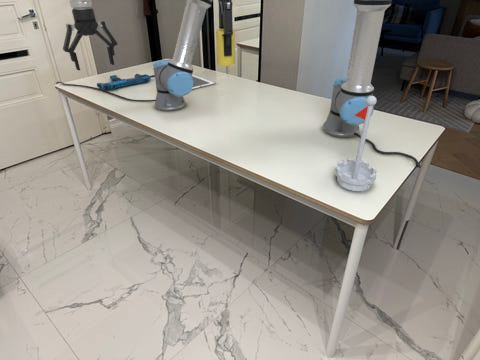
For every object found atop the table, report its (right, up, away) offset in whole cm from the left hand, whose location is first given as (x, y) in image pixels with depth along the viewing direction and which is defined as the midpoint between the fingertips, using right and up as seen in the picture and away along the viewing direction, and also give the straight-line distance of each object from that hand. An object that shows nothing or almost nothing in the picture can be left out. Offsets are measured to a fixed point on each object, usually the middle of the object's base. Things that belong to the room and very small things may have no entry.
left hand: (95, 66), depth 137 cm
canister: (+53, -3, -13) cm, 55 cm away
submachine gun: (-12, +15, +73) cm, 75 cm away
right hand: (+53, 0, -15) cm, 55 cm away
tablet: (+25, +16, +74) cm, 80 cm away
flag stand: (+97, -46, -21) cm, 110 cm away
